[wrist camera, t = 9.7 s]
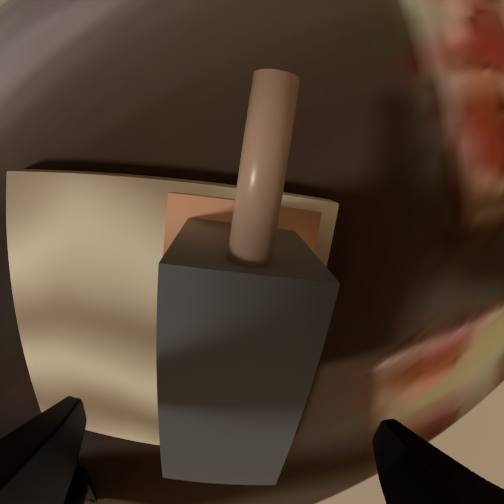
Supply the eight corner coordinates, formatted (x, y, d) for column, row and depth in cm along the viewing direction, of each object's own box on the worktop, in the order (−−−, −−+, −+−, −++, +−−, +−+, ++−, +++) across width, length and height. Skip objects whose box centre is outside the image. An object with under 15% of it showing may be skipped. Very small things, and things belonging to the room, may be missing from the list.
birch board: (272, 438, 19) (275, 455, 18) (50, 403, 18) (42, 417, 16) (328, 199, 15) (340, 204, 14) (22, 169, 13) (5, 171, 12)
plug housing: (262, 395, 16) (275, 485, 10) (177, 387, 16) (162, 477, 10) (313, 115, 12) (373, 87, 7) (204, 98, 12) (185, 52, 6)
